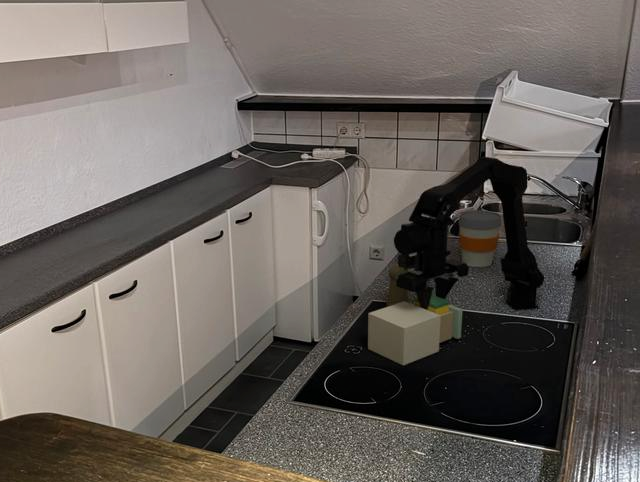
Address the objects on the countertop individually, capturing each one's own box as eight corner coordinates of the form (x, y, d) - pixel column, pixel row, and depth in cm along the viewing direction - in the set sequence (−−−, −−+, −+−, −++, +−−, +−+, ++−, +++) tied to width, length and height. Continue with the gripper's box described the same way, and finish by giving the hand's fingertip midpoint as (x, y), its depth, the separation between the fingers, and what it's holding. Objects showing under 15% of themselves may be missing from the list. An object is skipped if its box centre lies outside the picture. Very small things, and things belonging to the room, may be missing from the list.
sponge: (413, 311, 182) (413, 297, 180) (426, 306, 184) (427, 293, 183) (435, 319, 176) (436, 305, 175) (448, 314, 179) (449, 301, 178)
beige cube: (403, 336, 185) (404, 301, 182) (438, 351, 177) (440, 315, 173) (367, 349, 179) (368, 313, 176) (403, 365, 170) (404, 328, 167)
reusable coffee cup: (449, 265, 234) (452, 217, 228) (464, 254, 243) (467, 208, 238) (489, 271, 227) (493, 222, 222) (503, 259, 237) (507, 213, 231)
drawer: (431, 323, 190) (433, 296, 187) (464, 336, 182) (466, 308, 179) (398, 335, 183) (398, 307, 181) (430, 349, 176) (431, 320, 173)
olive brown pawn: (408, 309, 201) (409, 270, 197) (385, 308, 202) (386, 269, 198) (409, 301, 207) (410, 262, 203) (387, 300, 208) (388, 262, 204)
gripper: (435, 230, 185) (433, 291, 191) (379, 246, 175) (378, 309, 181) (472, 240, 177) (467, 303, 183) (415, 257, 167) (413, 323, 173)
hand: (431, 309), depth 180 cm, fingers closed on sponge, 4 cm apart
